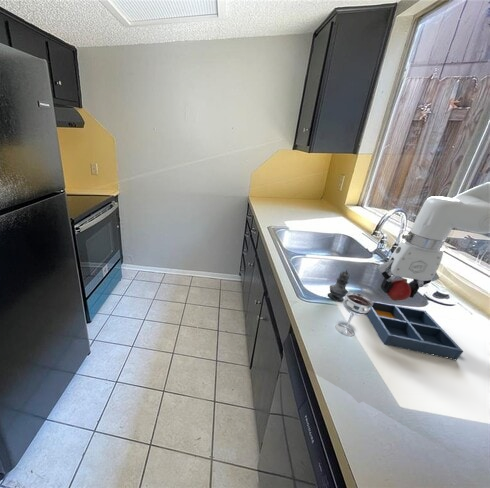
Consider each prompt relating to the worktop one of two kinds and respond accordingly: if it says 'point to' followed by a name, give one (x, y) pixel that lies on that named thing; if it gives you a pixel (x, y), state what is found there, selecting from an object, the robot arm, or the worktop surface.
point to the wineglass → (354, 309)
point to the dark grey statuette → (339, 287)
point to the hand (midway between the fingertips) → (396, 292)
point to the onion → (399, 290)
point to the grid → (411, 330)
